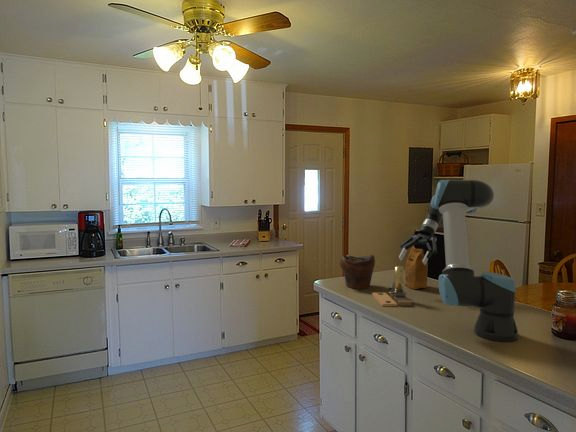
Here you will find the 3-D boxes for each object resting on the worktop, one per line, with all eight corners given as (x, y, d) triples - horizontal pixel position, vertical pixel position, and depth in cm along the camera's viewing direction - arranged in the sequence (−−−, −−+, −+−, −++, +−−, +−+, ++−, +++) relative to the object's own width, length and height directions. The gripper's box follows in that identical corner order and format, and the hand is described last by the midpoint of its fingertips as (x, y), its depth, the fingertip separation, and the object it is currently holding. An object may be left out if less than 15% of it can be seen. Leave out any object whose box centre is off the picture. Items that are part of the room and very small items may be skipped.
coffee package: (418, 283, 242) (419, 245, 240) (429, 289, 230) (430, 249, 228) (401, 284, 240) (403, 246, 239) (412, 290, 228) (413, 249, 226)
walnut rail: (411, 306, 199) (412, 291, 198) (395, 306, 198) (395, 291, 198) (399, 294, 219) (399, 281, 218) (384, 294, 218) (384, 281, 218)
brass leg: (405, 296, 206) (406, 268, 205) (390, 296, 206) (391, 268, 205) (401, 293, 212) (402, 265, 211) (387, 293, 212) (388, 265, 211)
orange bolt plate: (397, 306, 198) (397, 303, 198) (382, 306, 198) (382, 303, 198) (385, 294, 218) (385, 292, 218) (372, 294, 218) (372, 292, 218)
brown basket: (333, 283, 240) (334, 252, 238) (362, 280, 248) (363, 250, 247) (350, 292, 224) (351, 258, 222) (381, 288, 232) (382, 256, 230)
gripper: (452, 236, 217) (436, 269, 208) (409, 231, 235) (393, 261, 227) (448, 226, 213) (431, 260, 204) (404, 222, 231) (387, 253, 223)
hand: (411, 261), depth 215 cm, fingers open, 13 cm apart
